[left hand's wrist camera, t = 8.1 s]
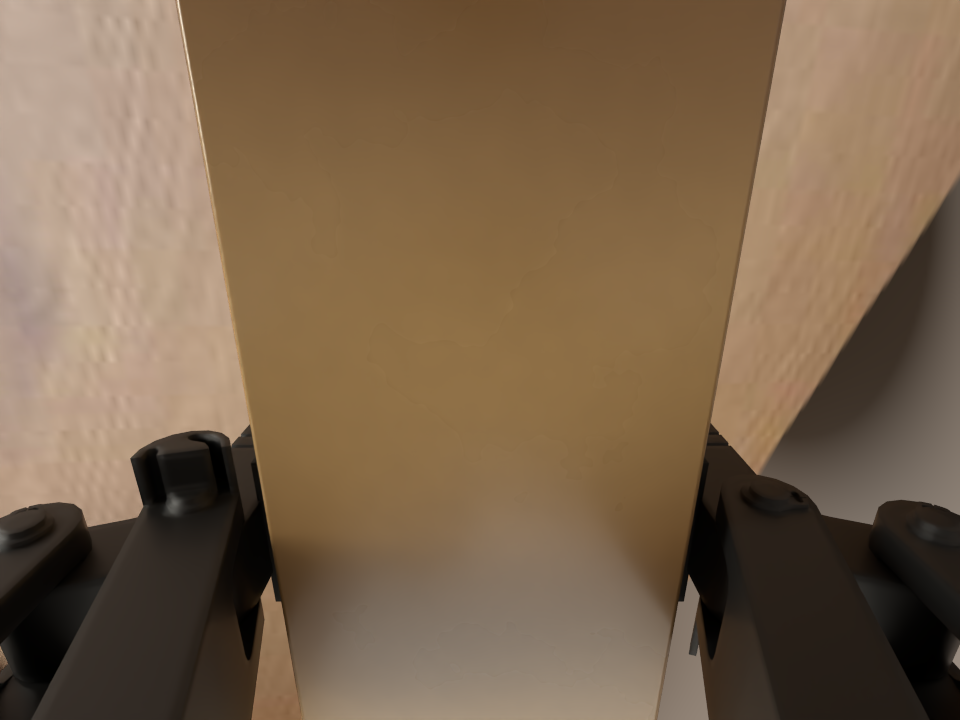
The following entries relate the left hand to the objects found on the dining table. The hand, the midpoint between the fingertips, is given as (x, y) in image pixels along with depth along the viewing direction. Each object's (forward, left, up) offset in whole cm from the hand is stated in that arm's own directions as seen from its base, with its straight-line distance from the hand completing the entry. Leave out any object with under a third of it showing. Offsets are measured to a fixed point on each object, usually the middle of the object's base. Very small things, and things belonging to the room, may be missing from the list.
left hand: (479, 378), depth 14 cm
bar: (+6, +3, -1) cm, 7 cm away
